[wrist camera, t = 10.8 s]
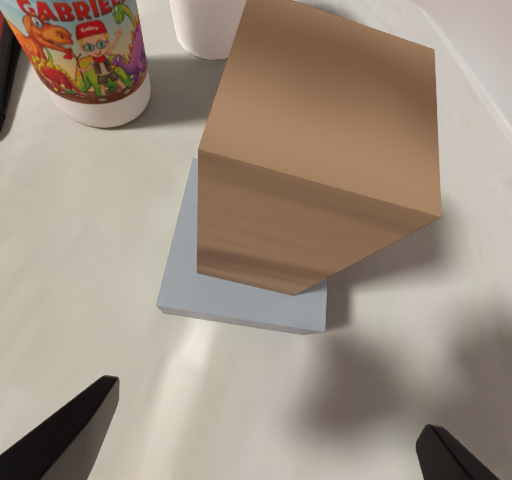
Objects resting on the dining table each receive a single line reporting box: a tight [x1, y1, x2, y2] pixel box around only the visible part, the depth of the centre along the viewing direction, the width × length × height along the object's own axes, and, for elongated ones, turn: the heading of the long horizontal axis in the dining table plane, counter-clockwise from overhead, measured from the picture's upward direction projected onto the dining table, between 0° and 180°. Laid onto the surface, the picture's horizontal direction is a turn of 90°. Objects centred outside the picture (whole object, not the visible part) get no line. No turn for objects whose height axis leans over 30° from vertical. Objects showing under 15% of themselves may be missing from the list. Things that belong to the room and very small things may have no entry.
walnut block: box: [197, 0, 441, 296], centre depth 14 cm, size 6×6×12 cm
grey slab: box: [156, 158, 328, 335], centre depth 21 cm, size 10×10×4 cm
